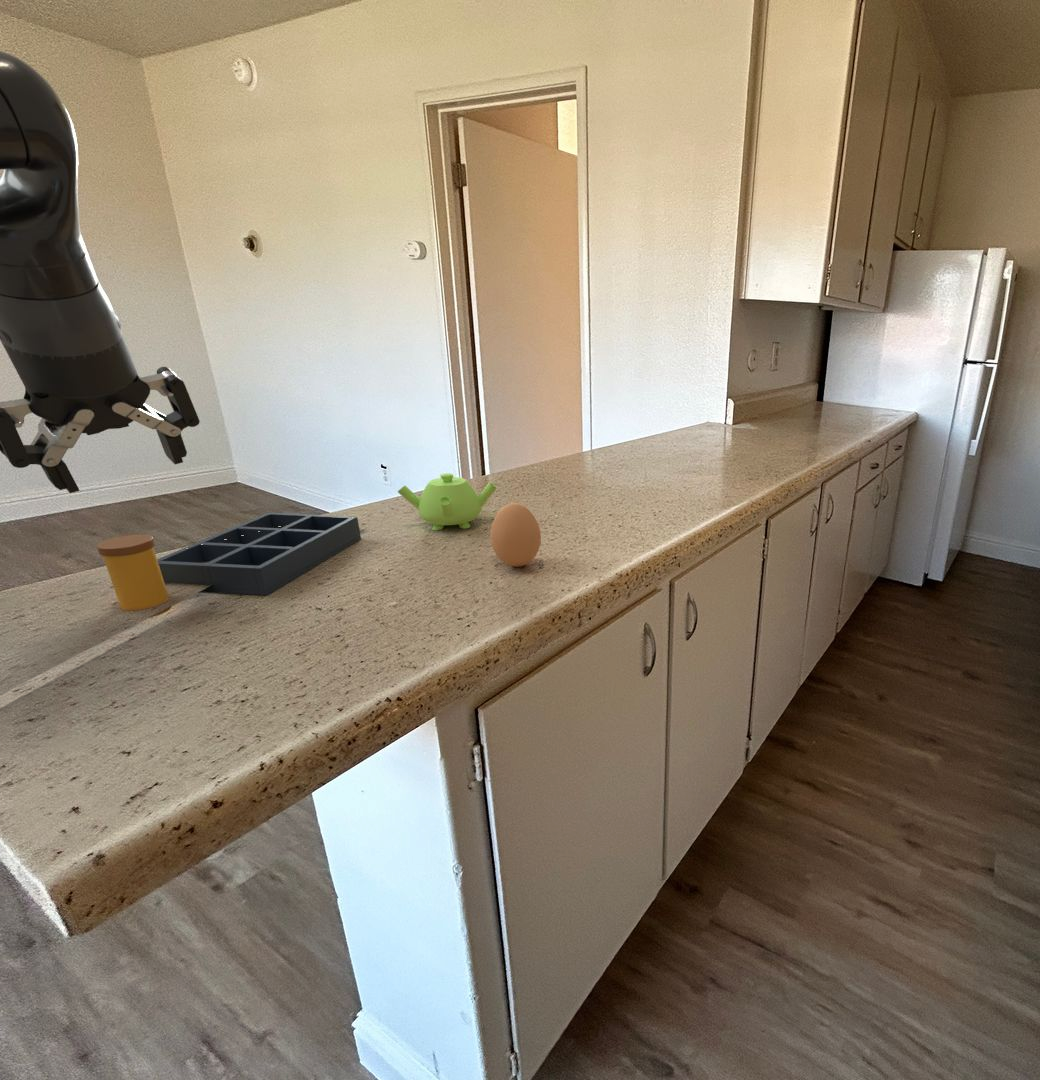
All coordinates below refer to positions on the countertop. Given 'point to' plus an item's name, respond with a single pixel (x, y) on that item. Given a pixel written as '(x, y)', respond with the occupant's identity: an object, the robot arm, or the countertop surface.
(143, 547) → the jar
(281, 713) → the countertop surface
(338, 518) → the grid
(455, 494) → the teapot
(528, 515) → the egg
